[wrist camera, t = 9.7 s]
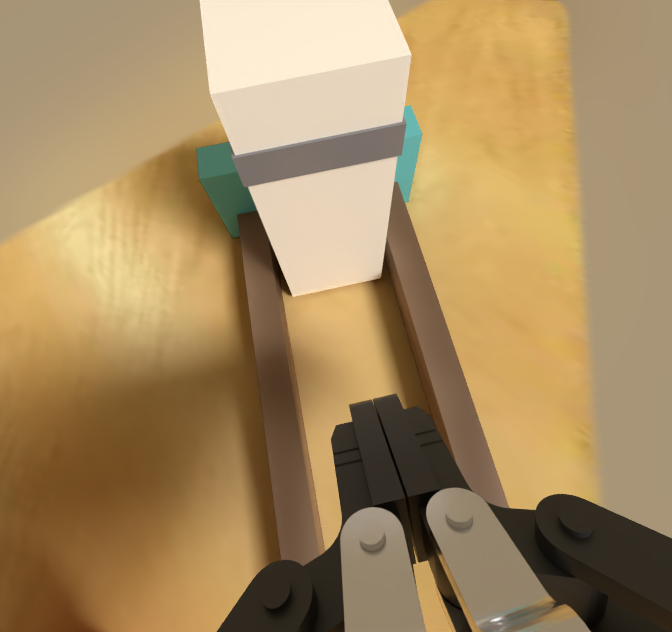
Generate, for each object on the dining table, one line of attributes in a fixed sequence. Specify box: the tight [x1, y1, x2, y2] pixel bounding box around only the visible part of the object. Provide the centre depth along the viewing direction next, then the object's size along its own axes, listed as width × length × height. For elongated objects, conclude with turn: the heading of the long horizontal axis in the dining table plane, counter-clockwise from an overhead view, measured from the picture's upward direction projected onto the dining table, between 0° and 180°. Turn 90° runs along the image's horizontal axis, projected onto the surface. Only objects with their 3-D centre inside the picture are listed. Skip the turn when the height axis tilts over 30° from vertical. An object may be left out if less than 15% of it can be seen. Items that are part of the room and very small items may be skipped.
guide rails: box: [237, 182, 509, 566], centre depth 18 cm, size 9×22×2 cm, turn 12°
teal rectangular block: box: [196, 106, 422, 238], centre depth 20 cm, size 11×2×5 cm, turn 102°
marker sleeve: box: [200, 0, 411, 297], centre depth 15 cm, size 5×4×12 cm
